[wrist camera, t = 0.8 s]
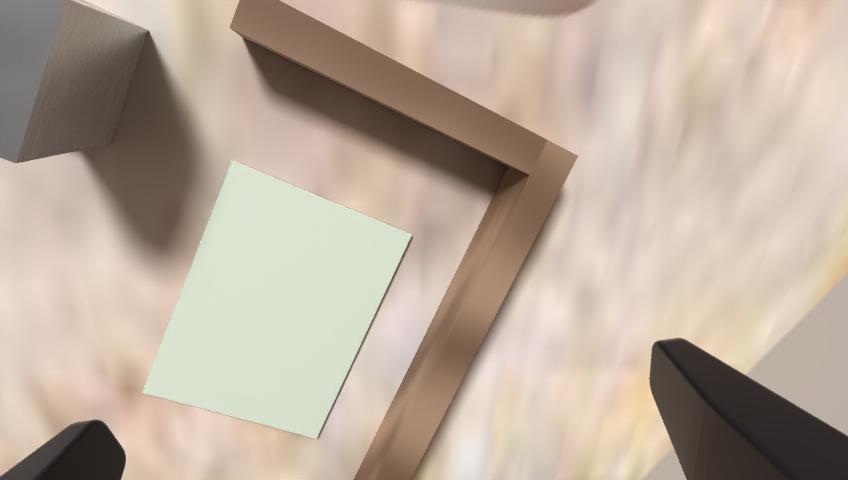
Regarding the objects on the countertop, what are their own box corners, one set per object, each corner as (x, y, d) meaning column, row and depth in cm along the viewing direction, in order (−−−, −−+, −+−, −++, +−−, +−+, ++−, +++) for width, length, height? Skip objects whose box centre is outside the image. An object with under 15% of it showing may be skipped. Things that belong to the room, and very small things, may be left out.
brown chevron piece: (371, 503, 25) (376, 545, 23) (92, 438, 22) (63, 480, 19) (551, 149, 22) (578, 156, 20) (256, -2, 18) (246, -17, 16)
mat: (316, 436, 24) (316, 438, 24) (143, 389, 21) (142, 392, 21) (411, 233, 22) (412, 235, 22) (232, 160, 20) (231, 160, 19)
